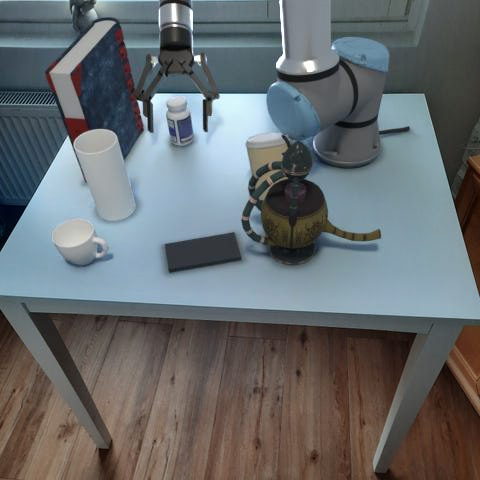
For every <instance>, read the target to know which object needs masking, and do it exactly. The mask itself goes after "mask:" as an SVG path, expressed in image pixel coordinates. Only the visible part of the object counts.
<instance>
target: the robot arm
mask: <svg viewBox="0 0 480 480" xmlns="http://www.w3.org/2000/svg"><path fill="white" fill-rule="evenodd" d="M331 2H332V1H331V0H279V7H280V9H279V10H280V23H281V24H280V25H281V36H282V37H281V38H282V39H281V40H282V52H283V54H282V56H280V57H279V59H278V61H277V62H276V65H275V68H276V81H275V82H274V83H272V84H271V85H270V86H269V88H268V90H267V92H266V98H265V99H266V101H265V102H266V107H267V112H268V114H269V117H270V119H271V121H272V124H274V126H275V127H276V128H277V130H278V132H281V133H282V134H284V135H289V138H291V141H295V142H297V141H300V142H302V141H304V140H306V139H308V138H311V137H314V138H313V145H312V150H313V153H314V155H315V156H316V157H317V159H319V160H320V161H321V162H323V163H325V164H327V165H329V166H333V167H336V168H344V169H354V168H360V167H364V166H367V165H369V164H371V163H372V162H374V161H375V160H376V159H377V157H378V156H379V153H380V149H381V136H383V135H389V134H398V133H399V134H400V133H404V132H408V131H410V129H411V127H410V126H404V127H397V128H387V129H383V130H382V129H381V130H380V129H379V122H378V119H379V114H380V108H381V105H382V104H381V103H382V99H383V94H384V91H385V84H386V80H387V76H388V72H389V63H390V52H389V49H388V47H386V46H385V45H384V44H382V43H381V42H378V41H376V40H373V39H370V38H365V37H359V36H346V37H340V38H338V39H335V40H334V41H333V42H332V9H331V7H332V4H331ZM158 29H159V31H160V32H159V34H158V35H159V54H158V56H154V55H153V56H152V55H151V54H150V53H148V54H146V55H145V65H144V68H143V70H142V73H141V76H140V78H139V81H138V84H137V86H136V88H135V90H136V91H135V94H134V96H135V97H136V99H137V102H142V114H143V117H145V118H146V121H147V131H148V132H149V134H154V133H155V132H154V131H155V129H154V126H155V125H154V103H153V102H152V100H153V98H154V97H155V95H156V94H157V92H158V91H159V89H160V88H161V87H162V85H163V83H165V81H166V80H167V79H168V78H169V77H170V78H177V77H179V78H185V77H186V76H187V77H188V78H189V79H190V80H191V81H192V83H193V84H194V85H195V87H196V88H197V89H198V91H199V92H200V93H201V94H202V96H203V97H204V99H202V130H203V131H204V133H208V132H209V125H208V124H209V121H208V120H209V117H212V116H213V102H214V101H215V100H219V99H220V98H221V95H220V92H219V90H218V87H217V85H216V82H215V80H214V79H213V78H214V77H213V76H212V73H211V71H210V69H209V66H208V59H207V55H206V53H205V52H200V54H197V55H194V40H193V39H194V35H193V29H194V28H193V0H158ZM195 63H197V65H198V66H199V67H201V69H202V71H203V73H204V76H205V78H206V80H207V82H208V85H209V88H210V90H211V92H209V90H208V89H207V88H206V86H205V85H204V84H203V82H202V81H201V80H200V78H199V77H198V76H197V75H196V74H195V72H194V70H193V67H194V65H195ZM157 64H159V65H160V68H159V70H158V71H157V74H156V76H155V77H154V78H153V80H152V81H151V83H150V80H151V77H152V75H153V71H154V68H156V67H157ZM149 83H150V84H149Z"/></svg>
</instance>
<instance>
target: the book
mask: <svg viewBox="0 0 480 480" xmlns="http://www.w3.org/2000/svg"><path fill="white" fill-rule="evenodd" d="M124 40H125V37H124V32H123V29H122V25H121V24H120V20H119V19H118V18H116V17H112V16H107V17H105V16H104V17H100V18H96V19H94V20H92V21H91V23H90V24H89V25H88V26H87V27H86V28H85V29H84V30H83V31H82V33H81V34H79V36H78V37H77V38H76V39H74V41H73V42H72V43H71V44H70V45H69V46H68V47H67V48H66V49H65V50H64V51H63V52H62V53H61V54H60V55H59V56H58V58H56V59H55V60H54V61H53V62H52V63H51V64H50V65H49V67H48V68H47V69H45V71H44V73H45V78H46V81H47V83H48V85H49V88H50V91H51V93H52V95H53V98H54V101H55V103H56V106H57V109H58V111H59V114H60V117H61V120H62V123H63V125H64V128H65V130H66V133H67V136H68V139H69V141H70V144H71V147H72V151H73V153H74V156H75V158H76V160H77V163H78V166H79V169H80V172H81V174H82V177H83V180H84V182H85V184H87V182H86V179H85V176H84V173H83V171H82V168H81V165H80V163H79V160H78V157H77V154H76V152H75V149H74V141H75V139H76V138H77V137H78V136H80V135H81V134H83V133H85V132H87V131H90V130H95V129H106V130H110V131H112V132H114V133H115V134H116V136H117V138H118V142H119V145H120V149H121V152H122V156H123V160H124V161H125V160H126V159H127V157H128V155H129V153H130V152H131V150H132V149H133V147H134V145H135V144H136V142H137V140H138V139H139V138H140V136H141V134H142V133H143V132H144V131H145V129H144V123H143V118H142V114H141V109H140V104H139V101H138V100H137V99H136V97H135V96H134V94H135V91H136V88H135V82H134V81H135V80H134V78H133V74H132V68H131V63H130V59H129V58H128V57H129V55H128V50H127V46H126V43H125V41H124Z"/></svg>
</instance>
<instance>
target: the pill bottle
mask: <svg viewBox="0 0 480 480" xmlns="http://www.w3.org/2000/svg"><path fill="white" fill-rule="evenodd" d="M165 105H166V108H167V109H166V111H165V116H166V122H167V127H168V132H169V139H170V141H171V143H172V144H173V145H174V146H180V147H182V146H188V145H190V144H191V143H193V141H194V139H195V136H194V135H195V134H194V128H193V122H192V115H191V110H190V108H189V107H188V101H187V98H186V97H185V96H183V95H174V96H171V97H169V98H168V99H166V102H165Z"/></svg>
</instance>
